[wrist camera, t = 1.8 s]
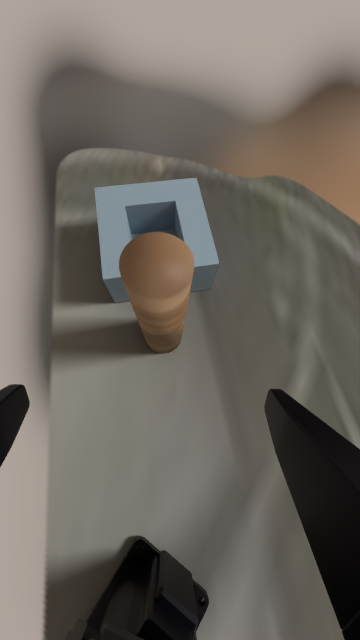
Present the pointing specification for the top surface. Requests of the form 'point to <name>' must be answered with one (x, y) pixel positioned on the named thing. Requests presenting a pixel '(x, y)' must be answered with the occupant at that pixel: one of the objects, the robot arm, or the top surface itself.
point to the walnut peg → (158, 286)
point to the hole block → (154, 226)
